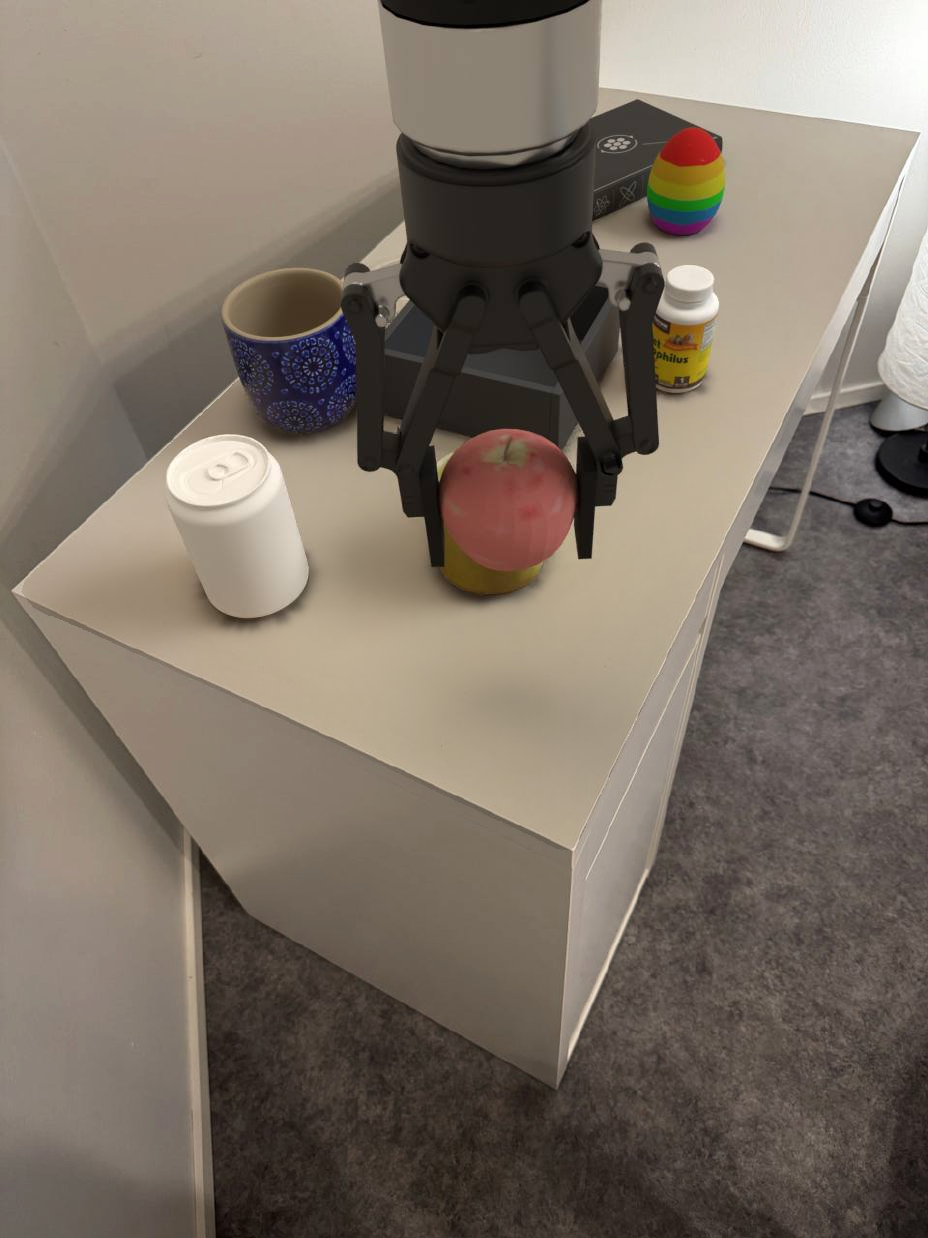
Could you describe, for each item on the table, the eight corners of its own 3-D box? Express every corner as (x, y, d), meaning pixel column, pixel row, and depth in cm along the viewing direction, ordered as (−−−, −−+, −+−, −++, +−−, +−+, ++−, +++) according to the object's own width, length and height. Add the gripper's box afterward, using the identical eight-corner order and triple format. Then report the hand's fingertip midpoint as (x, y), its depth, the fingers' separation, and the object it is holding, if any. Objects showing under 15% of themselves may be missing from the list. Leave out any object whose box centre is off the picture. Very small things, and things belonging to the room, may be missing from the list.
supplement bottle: (632, 381, 84) (643, 280, 76) (665, 352, 86) (679, 251, 78) (684, 404, 81) (701, 303, 73) (716, 373, 84) (736, 272, 76)
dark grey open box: (618, 349, 87) (624, 285, 81) (557, 458, 78) (560, 394, 72) (452, 314, 92) (447, 252, 86) (377, 413, 83) (367, 350, 77)
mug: (530, 621, 64) (502, 496, 59) (417, 603, 70) (382, 488, 65) (603, 536, 72) (584, 419, 67) (495, 527, 78) (470, 418, 73)
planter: (272, 369, 88) (243, 263, 79) (380, 376, 86) (364, 268, 77) (235, 443, 81) (200, 336, 72) (352, 453, 79) (330, 344, 71)
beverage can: (188, 582, 71) (136, 469, 62) (272, 529, 74) (235, 414, 65) (244, 641, 67) (198, 529, 58) (331, 582, 70) (300, 467, 61)
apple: (490, 488, 55) (485, 378, 48) (597, 533, 52) (606, 422, 45) (418, 566, 51) (402, 458, 45) (529, 619, 48) (528, 511, 42)
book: (584, 226, 101) (586, 199, 99) (503, 178, 109) (502, 153, 106) (720, 163, 108) (725, 137, 106) (635, 123, 116) (637, 98, 114)
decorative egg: (699, 199, 103) (713, 106, 96) (730, 233, 98) (748, 139, 91) (632, 211, 102) (641, 119, 95) (660, 247, 97) (672, 153, 90)
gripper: (751, 60, 35) (679, 489, 53) (237, 100, 36) (337, 509, 54) (798, 147, 31) (702, 585, 48) (206, 190, 31) (327, 605, 49)
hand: (510, 545), depth 51 cm, fingers closed on apple, 7 cm apart
